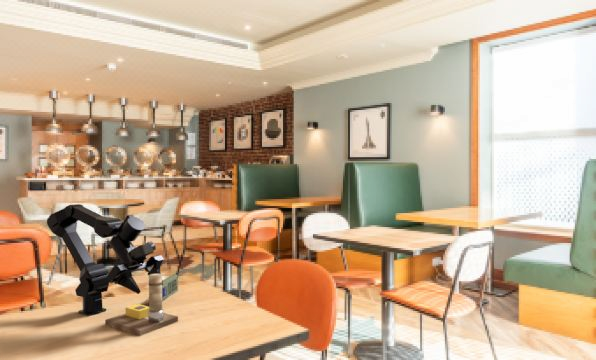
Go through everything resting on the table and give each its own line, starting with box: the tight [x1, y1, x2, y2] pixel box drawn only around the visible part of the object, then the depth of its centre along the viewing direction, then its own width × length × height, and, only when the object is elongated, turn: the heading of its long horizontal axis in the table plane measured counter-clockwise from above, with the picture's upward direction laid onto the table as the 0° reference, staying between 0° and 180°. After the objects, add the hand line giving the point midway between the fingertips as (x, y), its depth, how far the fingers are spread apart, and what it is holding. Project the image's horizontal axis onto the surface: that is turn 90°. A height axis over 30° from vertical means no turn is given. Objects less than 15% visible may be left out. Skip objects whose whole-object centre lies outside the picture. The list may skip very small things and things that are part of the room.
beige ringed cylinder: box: [148, 273, 164, 323], centre depth 132 cm, size 4×4×14 cm
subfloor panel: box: [104, 312, 179, 336], centre depth 134 cm, size 17×14×2 cm
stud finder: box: [124, 303, 149, 319], centre depth 137 cm, size 7×4×3 cm, turn 57°
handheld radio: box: [143, 274, 179, 307], centre depth 159 cm, size 7×3×25 cm
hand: (151, 289), depth 133 cm, fingers open, 9 cm apart
